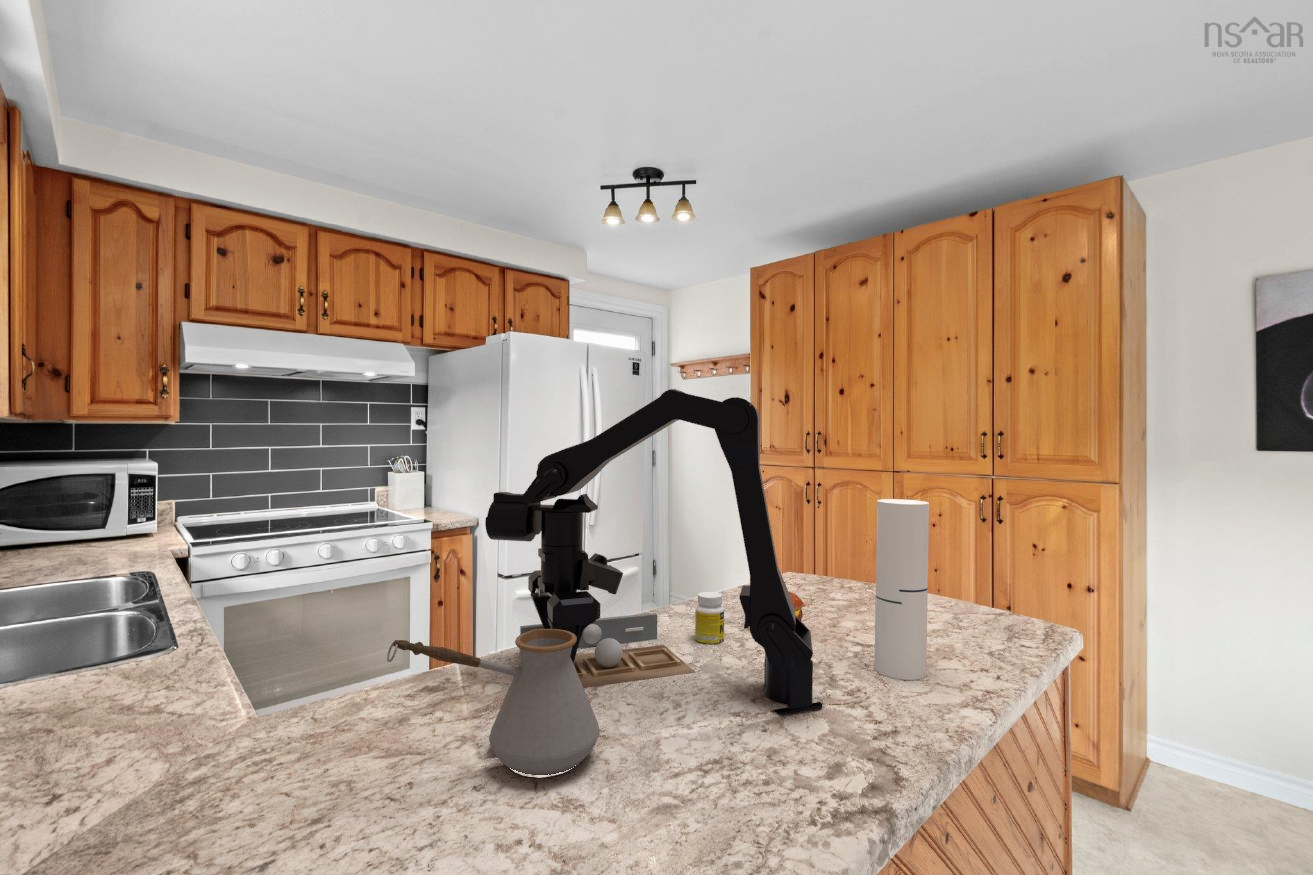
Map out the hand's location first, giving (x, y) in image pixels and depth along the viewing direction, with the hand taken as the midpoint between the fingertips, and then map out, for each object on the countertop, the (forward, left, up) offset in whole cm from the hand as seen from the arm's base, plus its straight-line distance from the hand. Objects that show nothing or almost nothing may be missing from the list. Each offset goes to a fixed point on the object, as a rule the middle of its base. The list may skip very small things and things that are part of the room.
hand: (560, 654), depth 87 cm
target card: (+10, -7, -4) cm, 12 cm away
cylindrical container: (-13, -48, -4) cm, 50 cm away
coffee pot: (-21, +11, -4) cm, 24 cm away
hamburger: (+11, -42, -4) cm, 44 cm away
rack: (0, -7, -4) cm, 8 cm away
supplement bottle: (+6, -26, -4) cm, 27 cm away
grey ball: (0, -7, -2) cm, 7 cm away
